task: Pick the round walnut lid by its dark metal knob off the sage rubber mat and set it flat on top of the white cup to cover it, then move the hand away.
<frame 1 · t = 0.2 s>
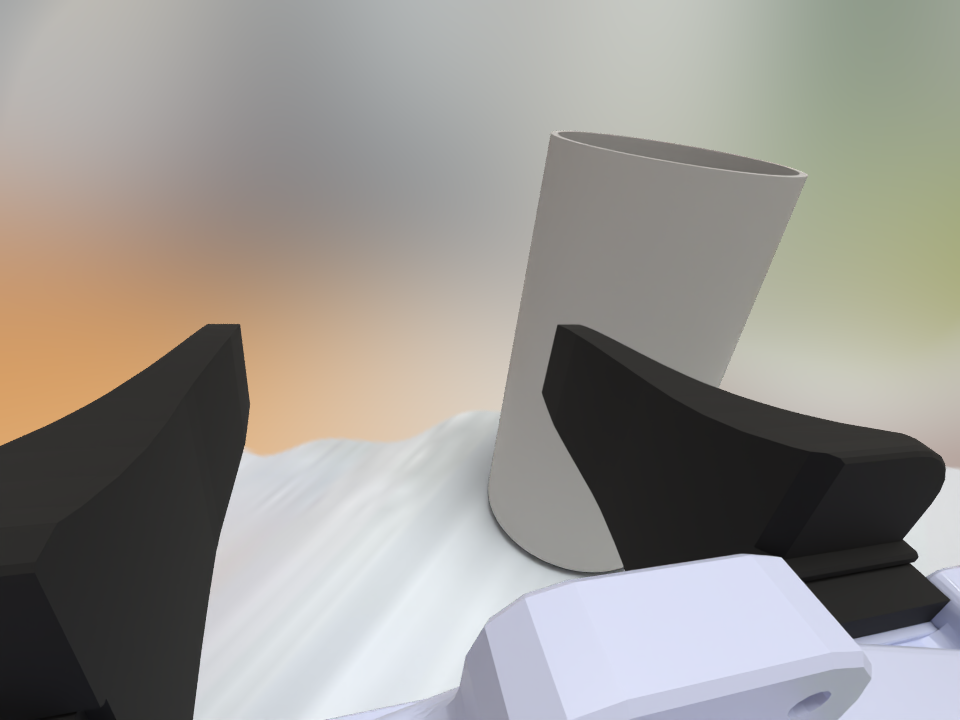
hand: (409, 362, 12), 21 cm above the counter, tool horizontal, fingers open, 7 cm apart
cylinder vase: (568, 508, 38), on the counter
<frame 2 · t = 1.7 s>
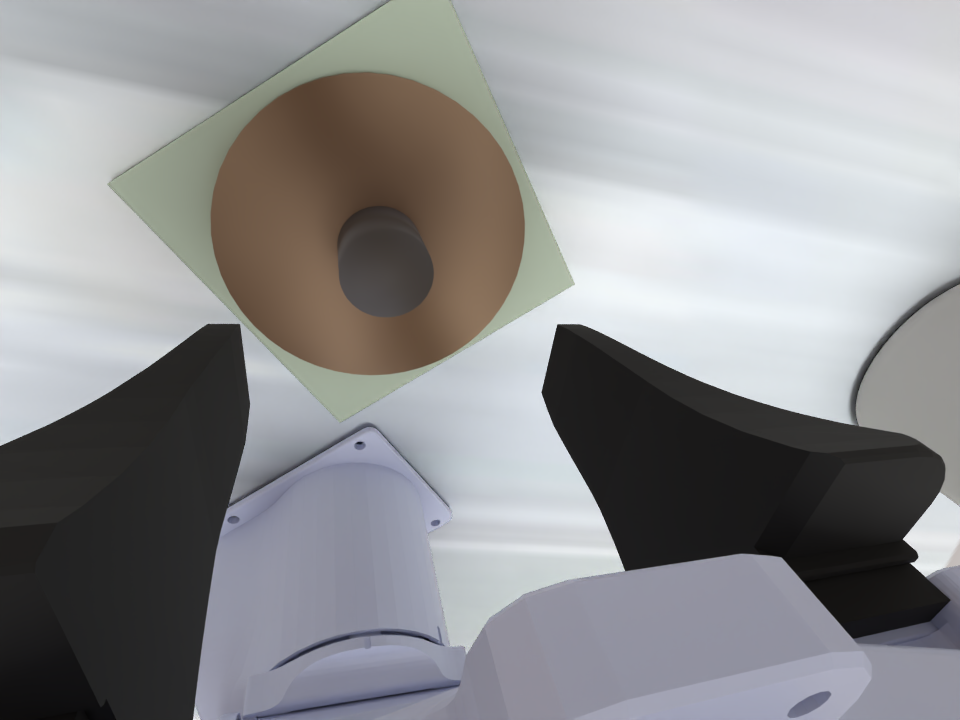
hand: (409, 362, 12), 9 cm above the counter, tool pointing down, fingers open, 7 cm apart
sage mat: (378, 238, 19), on the counter
cylinder vase: (934, 358, 32), on the counter
walnut lid: (378, 242, 19), resting on sage mat
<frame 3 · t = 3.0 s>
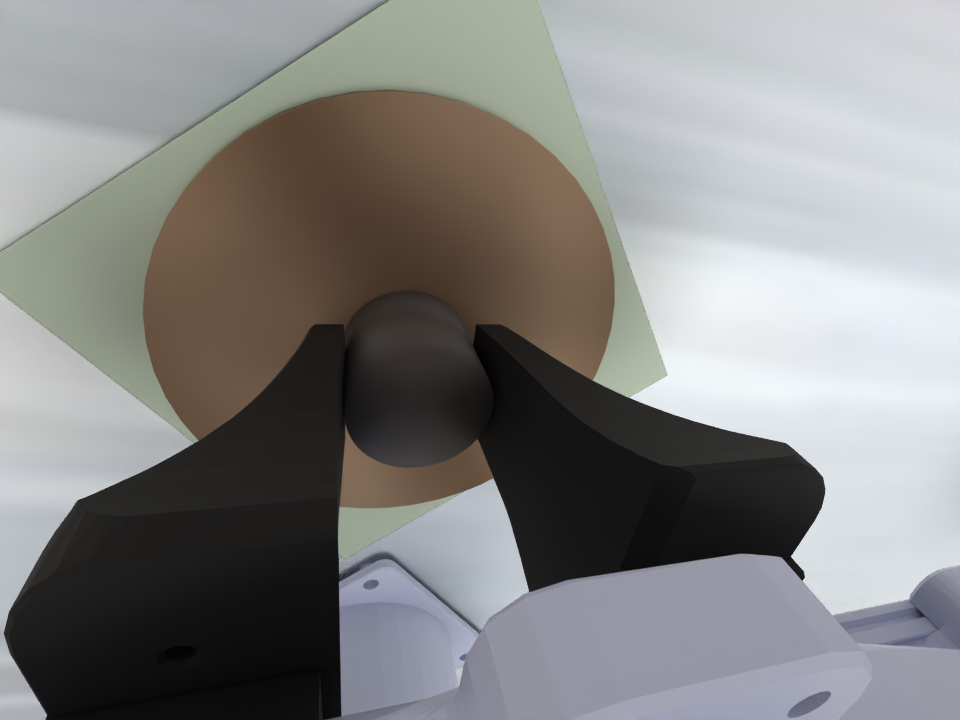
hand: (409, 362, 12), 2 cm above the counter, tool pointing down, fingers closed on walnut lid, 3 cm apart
sage mat: (400, 328, 13), on the counter
walnut lid: (402, 335, 13), resting on sage mat, touching gripper
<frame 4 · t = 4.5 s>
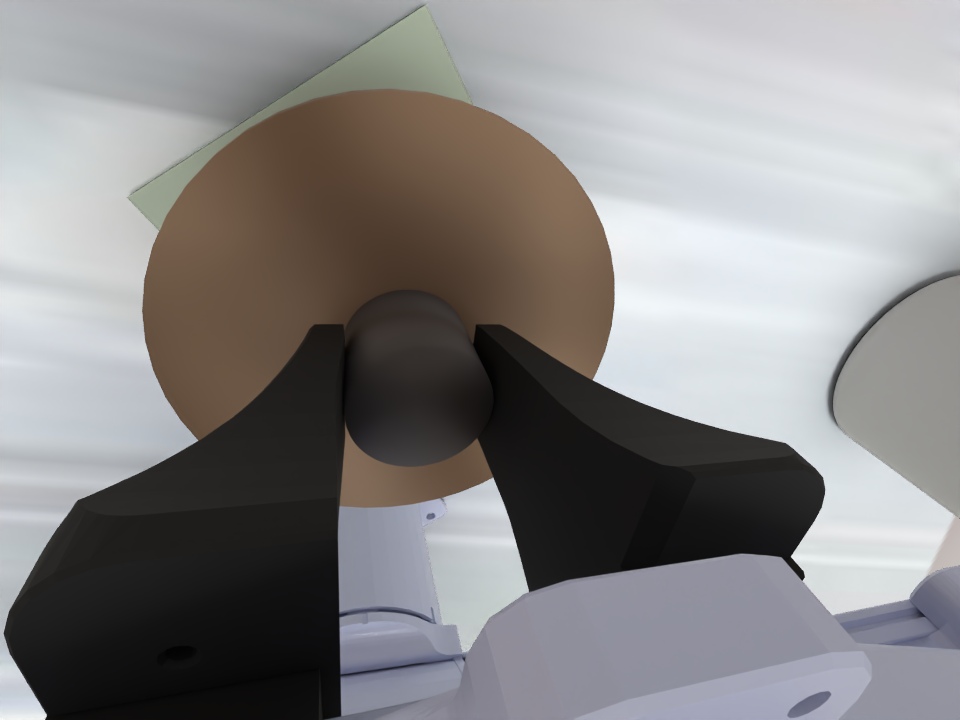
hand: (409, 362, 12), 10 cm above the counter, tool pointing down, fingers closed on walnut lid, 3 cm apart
sage mat: (374, 246, 21), on the counter
cylinder vase: (907, 357, 34), on the counter
walnut lid: (402, 334, 13), point 9 cm above the counter, touching gripper
when the fingers open (9 cm above the counter, at t = 6.1 s): walnut lid drops 1 cm, resting on white cup.
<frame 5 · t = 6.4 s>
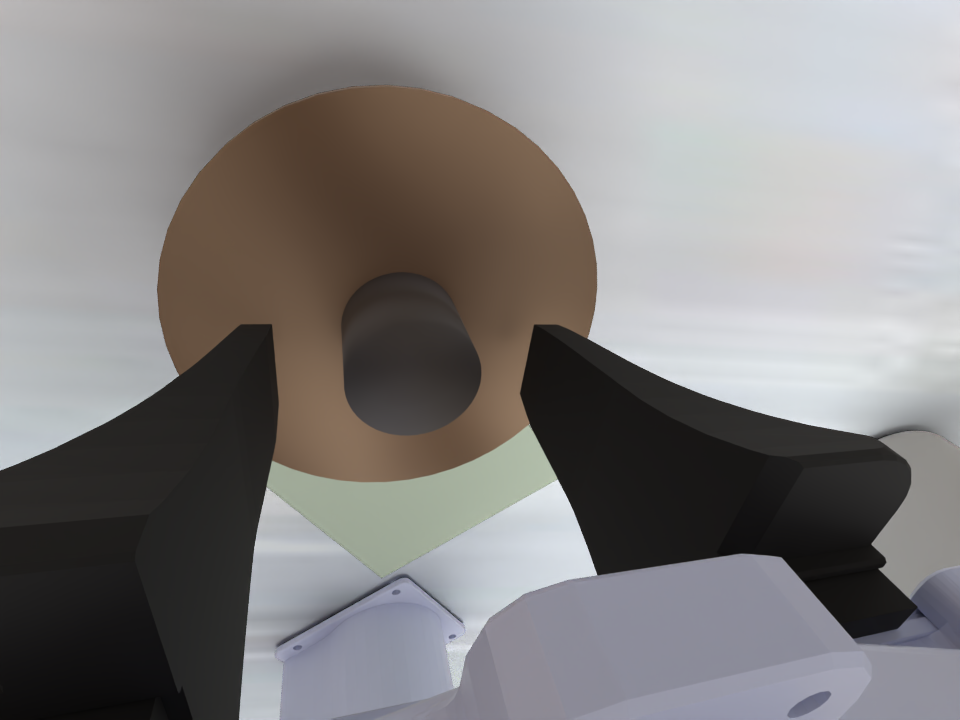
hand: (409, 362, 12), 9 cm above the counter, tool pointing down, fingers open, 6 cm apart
sage mat: (415, 463, 26), on the counter
cylinder vase: (861, 487, 39), on the counter
walnut lid: (398, 316, 14), point 7 cm above the counter, touching white cup
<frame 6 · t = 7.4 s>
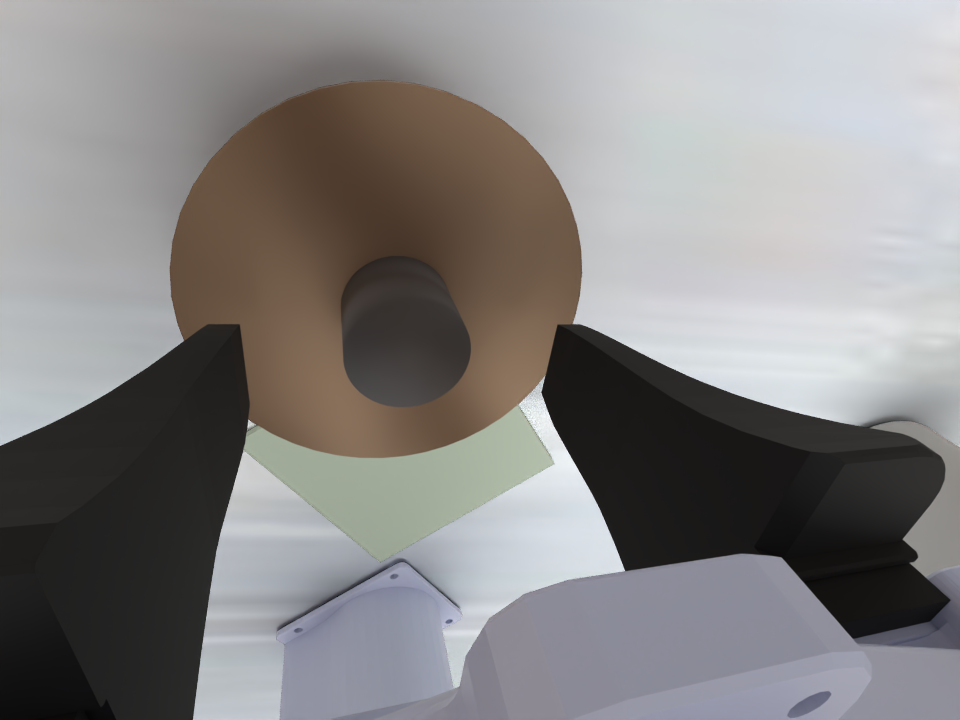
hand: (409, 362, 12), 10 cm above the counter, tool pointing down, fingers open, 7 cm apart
sage mat: (412, 449, 27), on the counter
cylinder vase: (849, 477, 40), on the counter
walnut lid: (394, 298, 15), point 7 cm above the counter, touching white cup
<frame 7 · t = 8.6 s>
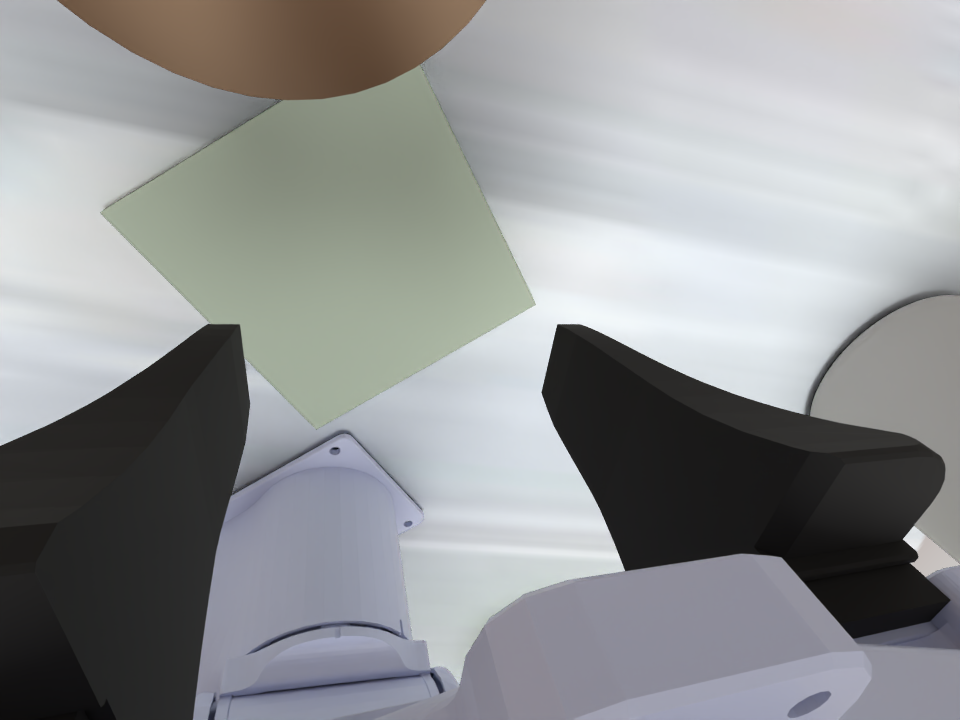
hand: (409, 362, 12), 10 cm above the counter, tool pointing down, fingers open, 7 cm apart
sage mat: (350, 262, 21), on the counter
cylinder vase: (884, 374, 34), on the counter
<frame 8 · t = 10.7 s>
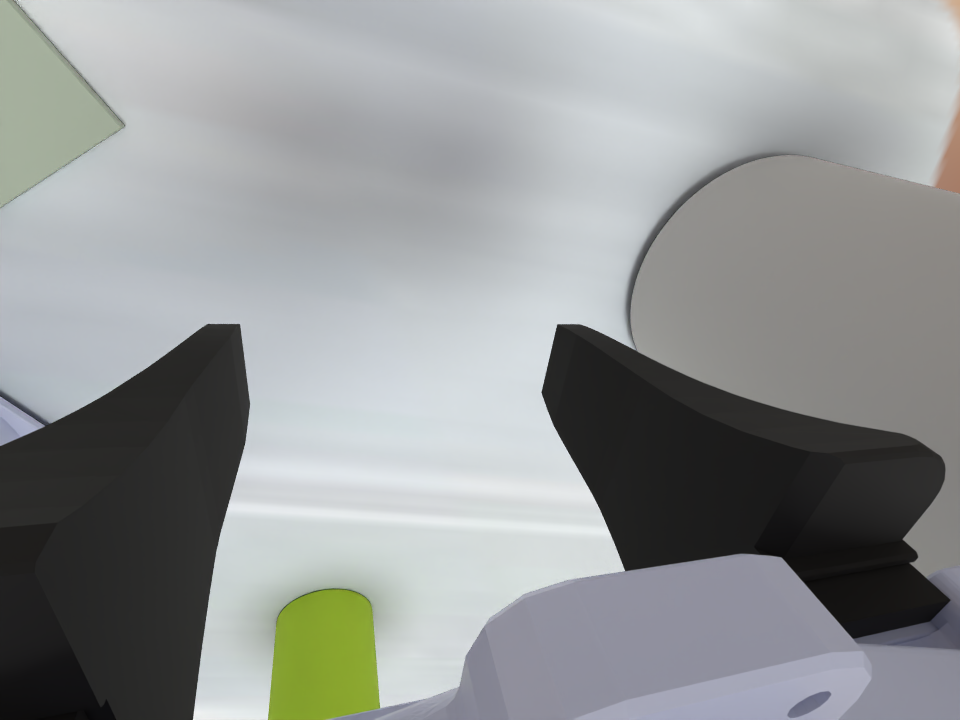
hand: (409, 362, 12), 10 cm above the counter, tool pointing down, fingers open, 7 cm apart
cylinder vase: (731, 278, 26), on the counter
soap dispenser: (326, 619, 33), on the counter
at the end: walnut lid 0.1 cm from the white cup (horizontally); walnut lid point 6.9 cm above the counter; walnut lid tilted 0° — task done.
